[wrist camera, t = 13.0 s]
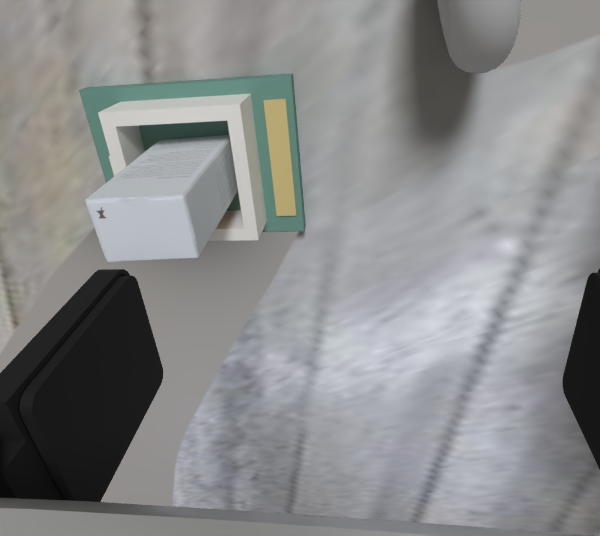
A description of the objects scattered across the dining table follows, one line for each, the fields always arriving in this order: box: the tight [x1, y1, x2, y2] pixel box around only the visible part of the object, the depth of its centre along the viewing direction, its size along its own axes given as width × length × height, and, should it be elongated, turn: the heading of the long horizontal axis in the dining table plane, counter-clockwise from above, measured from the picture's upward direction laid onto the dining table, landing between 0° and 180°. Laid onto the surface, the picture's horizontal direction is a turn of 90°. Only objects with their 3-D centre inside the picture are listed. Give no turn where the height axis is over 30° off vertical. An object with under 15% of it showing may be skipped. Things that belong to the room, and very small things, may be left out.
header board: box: [79, 74, 305, 241], centre depth 37 cm, size 16×12×4 cm
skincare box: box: [85, 135, 238, 262], centre depth 33 cm, size 6×4×12 cm
